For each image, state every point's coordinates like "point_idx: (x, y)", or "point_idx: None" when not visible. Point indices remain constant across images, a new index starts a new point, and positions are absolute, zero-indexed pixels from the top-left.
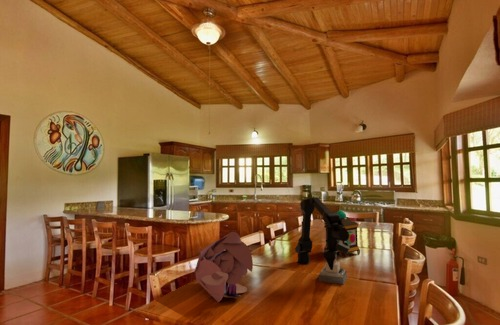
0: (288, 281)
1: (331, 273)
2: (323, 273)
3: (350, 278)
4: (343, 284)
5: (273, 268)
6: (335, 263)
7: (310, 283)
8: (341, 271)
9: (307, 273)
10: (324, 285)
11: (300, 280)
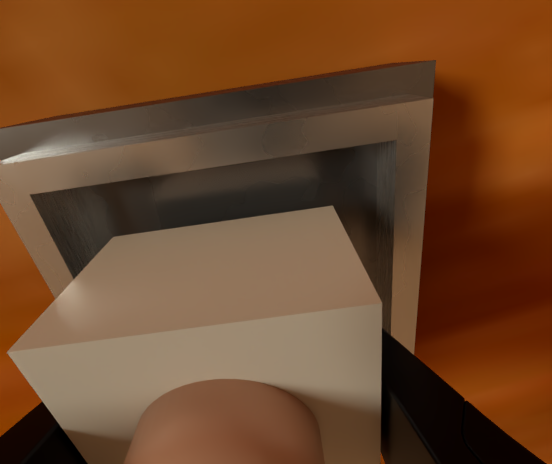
0: None
1: (417, 277)
2: None
3: (57, 50)
4: (387, 64)
5: None
6: (266, 381)
7: (484, 353)
8: (78, 206)
9: None
10: (499, 247)
11: None
